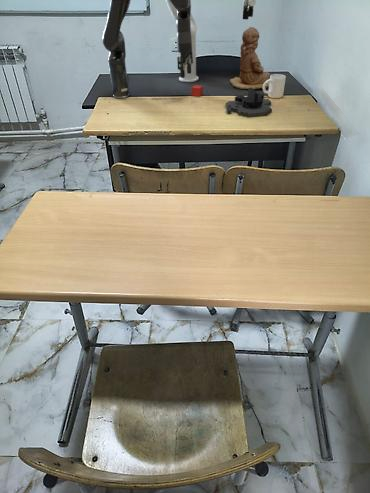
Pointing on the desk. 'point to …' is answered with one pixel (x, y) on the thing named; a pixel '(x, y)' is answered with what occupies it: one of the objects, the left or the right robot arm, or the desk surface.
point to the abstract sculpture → (249, 104)
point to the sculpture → (250, 63)
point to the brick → (197, 90)
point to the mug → (275, 86)
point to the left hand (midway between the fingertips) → (186, 75)
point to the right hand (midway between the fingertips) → (247, 17)
